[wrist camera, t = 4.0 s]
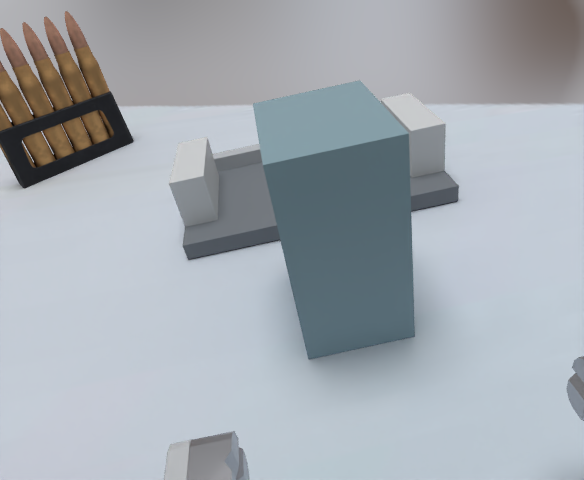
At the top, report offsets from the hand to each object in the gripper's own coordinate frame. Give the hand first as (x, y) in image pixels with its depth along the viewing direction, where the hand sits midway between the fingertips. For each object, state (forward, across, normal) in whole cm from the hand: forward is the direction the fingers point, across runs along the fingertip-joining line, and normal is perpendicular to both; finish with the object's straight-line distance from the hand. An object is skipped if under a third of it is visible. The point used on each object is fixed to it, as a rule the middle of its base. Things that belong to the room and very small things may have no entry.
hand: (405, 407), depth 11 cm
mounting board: (+20, 0, +5) cm, 21 cm away
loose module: (+9, 0, +5) cm, 10 cm away
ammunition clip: (+35, +20, +5) cm, 41 cm away
